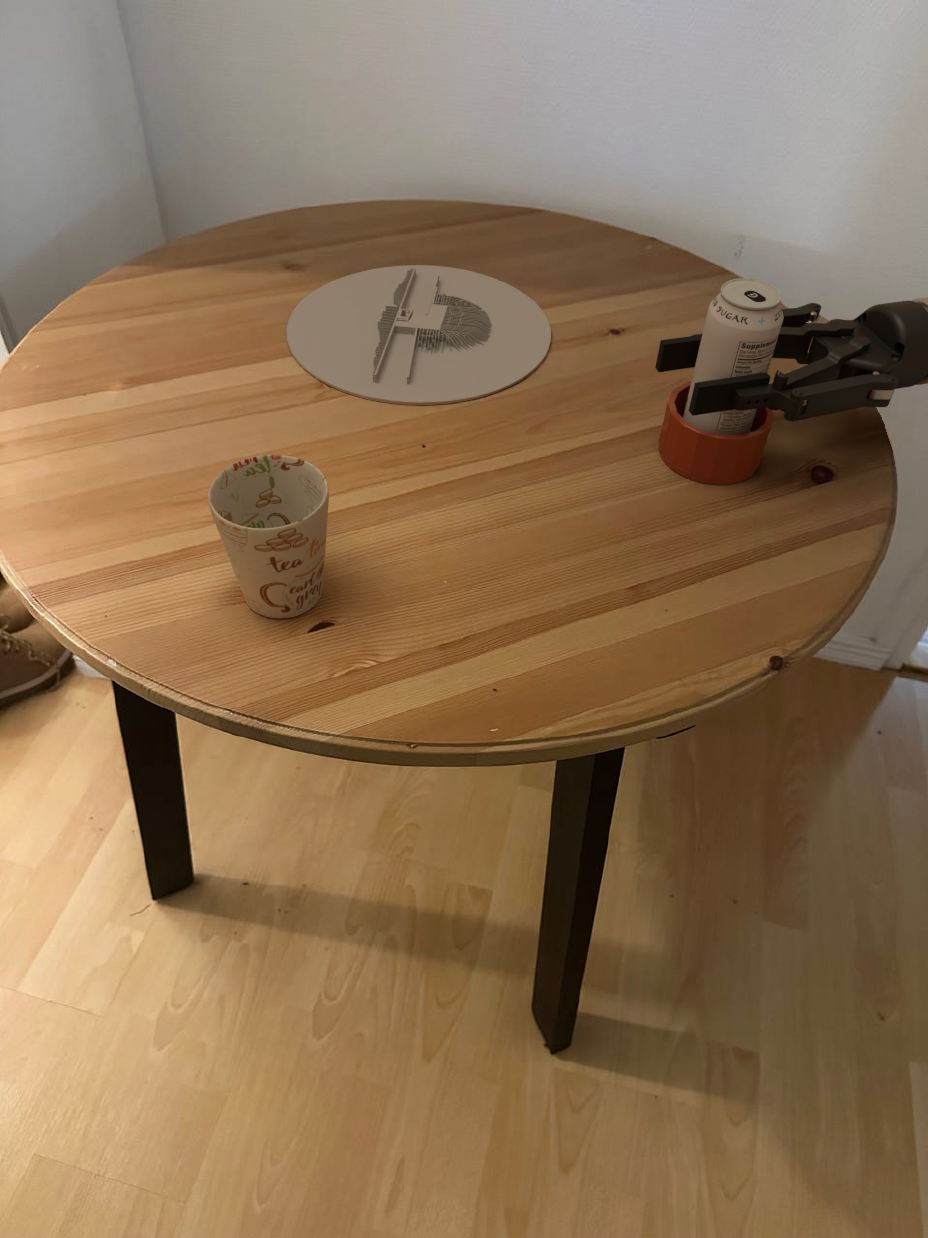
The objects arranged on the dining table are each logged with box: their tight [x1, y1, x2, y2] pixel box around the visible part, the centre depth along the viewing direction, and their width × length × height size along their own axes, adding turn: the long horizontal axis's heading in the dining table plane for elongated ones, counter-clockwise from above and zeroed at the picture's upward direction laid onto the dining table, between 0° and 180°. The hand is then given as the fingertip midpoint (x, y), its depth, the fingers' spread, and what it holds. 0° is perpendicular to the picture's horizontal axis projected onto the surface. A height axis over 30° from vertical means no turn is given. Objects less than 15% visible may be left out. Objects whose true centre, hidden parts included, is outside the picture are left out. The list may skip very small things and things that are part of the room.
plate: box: [286, 264, 552, 406], centre depth 101 cm, size 28×28×1 cm
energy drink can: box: [683, 277, 784, 435], centre depth 82 cm, size 6×6×15 cm
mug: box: [207, 454, 330, 620], centre depth 72 cm, size 8×13×10 cm, turn 14°
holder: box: [658, 380, 775, 486], centre depth 86 cm, size 9×9×5 cm
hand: (676, 377), depth 80 cm, fingers closed on energy drink can, 6 cm apart
